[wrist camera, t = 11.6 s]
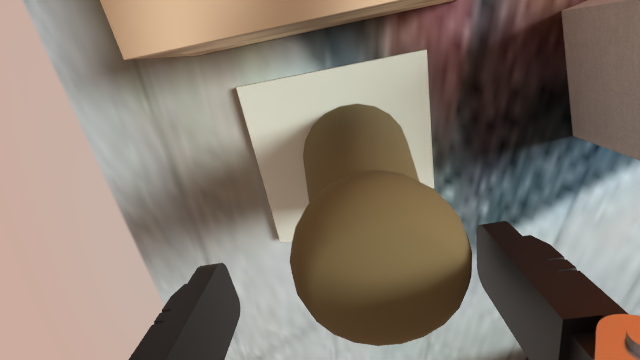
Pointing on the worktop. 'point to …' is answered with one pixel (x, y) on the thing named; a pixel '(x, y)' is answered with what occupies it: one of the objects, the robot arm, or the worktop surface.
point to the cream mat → (320, 98)
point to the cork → (375, 234)
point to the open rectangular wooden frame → (230, 22)
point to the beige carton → (604, 72)
